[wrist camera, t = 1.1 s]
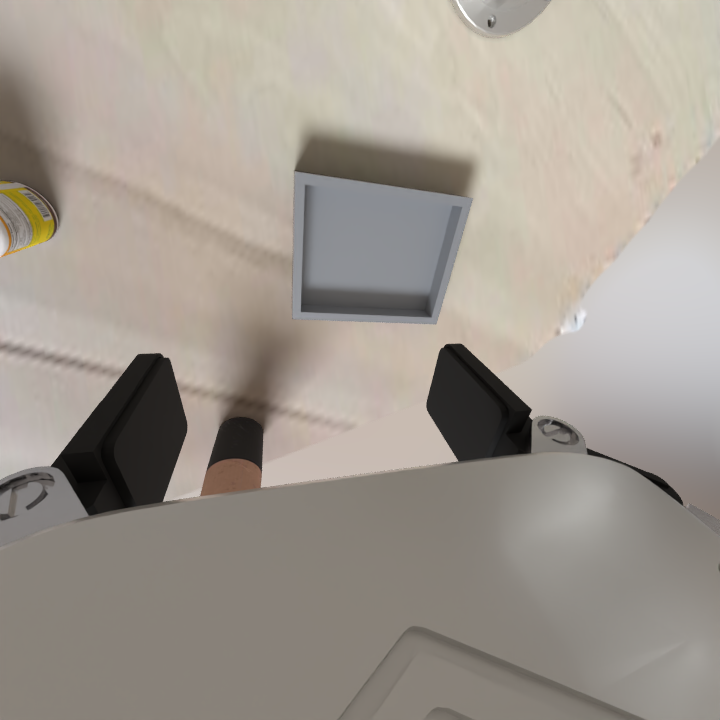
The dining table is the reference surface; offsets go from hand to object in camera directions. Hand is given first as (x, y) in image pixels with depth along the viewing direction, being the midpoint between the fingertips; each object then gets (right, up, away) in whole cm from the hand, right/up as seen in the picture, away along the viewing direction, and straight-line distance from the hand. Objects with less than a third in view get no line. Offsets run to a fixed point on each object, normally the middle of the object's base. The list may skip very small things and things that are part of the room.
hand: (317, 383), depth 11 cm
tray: (+3, +15, +29) cm, 32 cm away
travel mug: (-19, -11, +41) cm, 46 cm away
